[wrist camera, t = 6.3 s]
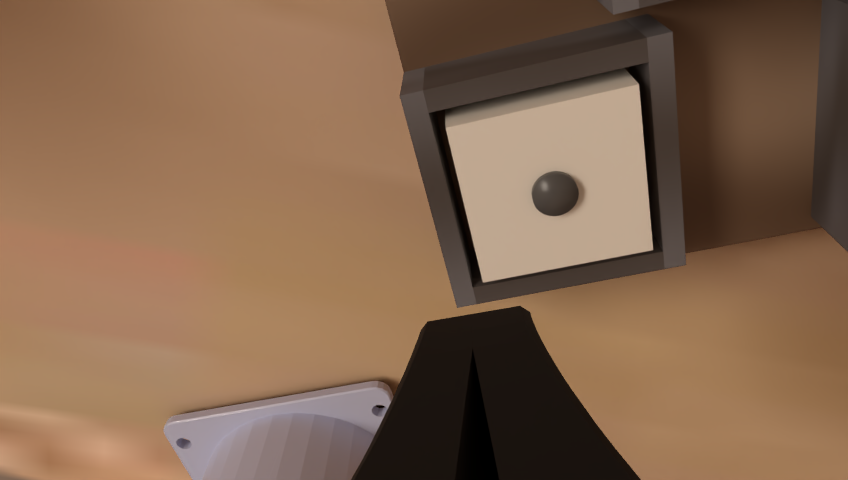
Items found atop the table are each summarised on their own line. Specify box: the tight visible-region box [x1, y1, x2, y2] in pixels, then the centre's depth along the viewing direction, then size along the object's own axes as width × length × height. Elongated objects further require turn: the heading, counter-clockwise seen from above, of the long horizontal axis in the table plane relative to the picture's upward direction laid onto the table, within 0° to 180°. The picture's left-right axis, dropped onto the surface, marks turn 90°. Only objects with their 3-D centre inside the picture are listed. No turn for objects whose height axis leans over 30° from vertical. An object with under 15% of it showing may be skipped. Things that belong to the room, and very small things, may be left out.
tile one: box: [445, 68, 653, 283], centre depth 15 cm, size 4×4×2 cm
